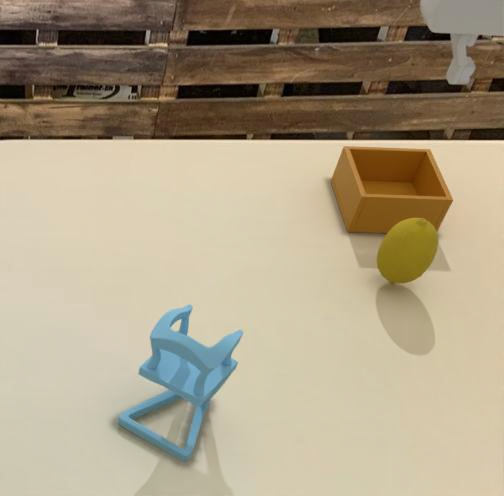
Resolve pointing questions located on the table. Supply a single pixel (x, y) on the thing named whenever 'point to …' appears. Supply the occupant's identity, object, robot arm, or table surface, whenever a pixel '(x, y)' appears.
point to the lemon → (407, 250)
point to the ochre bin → (388, 188)
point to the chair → (181, 376)
